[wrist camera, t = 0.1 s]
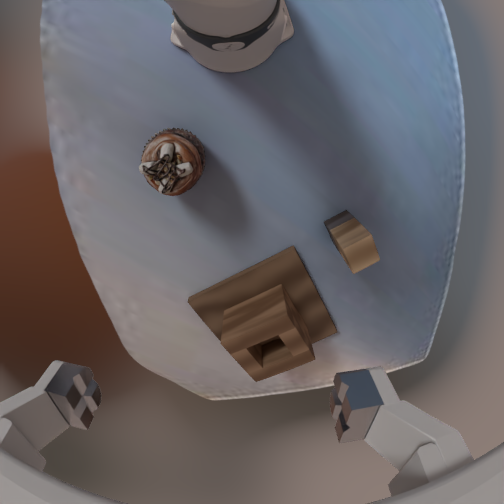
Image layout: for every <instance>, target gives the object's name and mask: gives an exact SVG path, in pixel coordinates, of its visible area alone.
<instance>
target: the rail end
mask: <svg viewBox="0 0 504 504" xmlns="http://www.w3.org/2000/svg"><path fill="white" fill-rule="evenodd" d="M324 223H325V226H326V228H327V230H328V232H329V234H330V237H331V239H332V241H333V243H334V245H335V246H336V248H337V249H338V251H339V252H340V254H341V255H342V257H343V258H344V260H345V262H346V263H347V265H348V266H349V268H350V270H351V271H352V273H353V274H355V273H356V272H358V271H360V270H362V269H364V268H366V267H368V266H370V265H372V264H374V263H375V262H377V261H379V260H380V258H379V255H378V252H377V249H376V246H375V243H374V240H373V237H372V235H371V234H370V233H369V232H368V230H367V229H366V228H365V227H363V226H362V225H361V224H360V223H359V222H358V221H357V220H356V219H355V218H354V217H353V216H352V215H351V214H350V213H349V212H348V211H347V210H346V211H344V212H342V213H340V214H338V215H336V216H334V217H332V218H330V219H328V220H326V221H324Z"/></svg>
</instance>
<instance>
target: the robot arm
mask: <svg viewBox="0 0 504 504" xmlns="http://www.w3.org/2000/svg"><path fill="white" fill-rule="evenodd" d="M164 1H165V2H166V3H167V4H168V5H169V6H170V7H171V8H172V15H174V17H175V20H174V23H172V33H171V38H170V39H171V42H172V43H173V44H174V45H176V46H178V47H180V48H182V49H185V50H187V51H188V52H189V53H190V54H191V56H192V57H193V58H194V59H195V60H196V61H197V62H199V63H200V64H201V65H203V66H205V67H207V68H209V69H212V70H215V71H219V72H240V71H245V70H248V69H251V68H253V67H256V66H258V65H259V64H261V63H262V62H264V61H265V60H266V59H267V58H268V57H269V56H270V55H271V54H272V53H273V51H274V50H275V49H276V47H277V46H278V45H279V44H281V43H282V42H284V41H286V40H288V39H290V38H291V37H292V36H293V34H294V28H293V25H292V22H291V19H290V16H289V13H288V10H287V7H286V4H285V1H284V0H164ZM286 25H287V26H286ZM92 378H93V373H92V371H91V369H90V368H88V367H84V366H79V365H75V364H71V363H66V362H61V361H57V360H56V361H54V362H52V363H51V365H50V366H49V367H48V369H47V370H46V371H45V373H44V374H43V376H42V377H41V378H40V380H39V381H38V382H37V384H36V385H35V387H30V388H28V389H26V390H24V391H22V392H20V393H18V394H16V395H14V396H12V397H10V398H8V399H6V400H4V401H2V402H0V504H128V503H124V502H120V501H117V500H113V499H110V498H107V497H104V496H101V495H98V494H95V493H92V492H89V491H86V490H84V489H81V488H78V487H76V486H73V485H71V484H68V483H66V482H64V481H62V480H59V479H57V478H55V477H53V476H51V475H49V474H46V473H44V472H42V471H43V468H44V466H45V464H46V461H45V459H44V458H43V456H42V455H41V454H39V452H38V451H39V450H41V449H42V448H43V447H44V446H46V445H47V444H48V443H50V442H51V441H52V440H53V439H54V438H56V437H57V436H58V435H60V434H61V433H62V432H63V431H65V430H66V429H67V428H68V427H69V425H70V426H74V427H78V428H81V429H85V430H88V429H89V426H90V424H91V422H92V420H93V418H94V416H93V411H94V410H96V409H98V407H99V405H100V403H101V390H100V387H99V385H98V384H97V383H96V382H95V381H94V380H93V379H92ZM333 382H334V385H335V388H334V389H333V390H332V391H331V395H330V409H331V414H332V417H333V418H334V419H336V420H337V423H336V426H335V430H336V433H337V437H338V441H339V443H345V442H351V441H356V440H362V439H364V440H365V441H366V442H367V443H368V444H369V445H370V446H371V447H373V448H374V449H375V450H376V451H377V452H378V453H379V454H380V455H381V456H383V457H384V458H385V459H386V460H387V461H389V462H390V463H391V464H392V465H393V466H394V467H395V468H397V469H398V470H399V473H398V474H397V475H396V476H395V477H394V478H393V479H392V481H391V482H390V483H389V484H388V486H389V490H390V493H391V497H388V498H385V499H382V500H378V501H375V502H371V503H367V504H504V442H503V443H501V444H500V445H498V446H497V447H495V448H494V449H492V450H491V451H489V452H487V453H486V454H484V455H482V456H481V457H479V458H477V459H476V460H474V459H473V457H472V455H471V453H470V452H469V450H468V448H467V446H466V444H465V442H464V440H463V438H462V437H461V435H460V433H459V431H458V430H456V429H454V428H453V427H451V426H449V425H447V424H445V423H443V422H442V421H440V420H438V419H436V418H435V417H433V416H431V415H429V414H427V413H426V412H424V411H422V410H420V409H419V408H417V407H415V406H414V405H412V404H410V403H408V402H407V401H405V400H403V401H400V400H399V397H398V395H397V394H396V392H395V390H394V388H393V386H392V384H391V382H390V380H389V378H388V376H387V374H386V372H385V371H384V369H383V367H381V366H378V367H373V368H367V369H360V370H354V371H347V372H340V373H336V375H335V377H334V381H333Z"/></svg>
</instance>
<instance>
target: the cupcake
mask: <svg viewBox="0 0 504 504" xmlns="http://www.w3.org/2000/svg"><path fill="white" fill-rule="evenodd" d="M155 136H156V137H154V136H151V138H152V140H150V139H149V140H148V141H149V143H146V146H144V148H145V149H144V151H142V152H143V154H142V160H141V161H142V164H141V165H140V166H139V170H140V172H141V173H142V174H144V176H145V178H146V180H147V182H148V183H149V184H150V185H151V186H152V187H154V188H155V189H156V190H157V191H159V192H160V193H162V194H165V195H170V196H175V195H180V194H182V193H184V192H186V191H187V190H189V189H191V188H192V187H193V186H194V185H195V184H196V183H197V181H198V180H199V178H200V177H201V175H202V172H203V170H204V167H205V158H204V157H205V155H204V152H205V151H204V150H203V148H204V147H203V146H202V145H201V142H200V141H199V139H198V138H196V135H193V134H192V133H191V132H188V131H187V130H185V131H184V129H183V128H182V129H181V130H180V129H179V128H177V129H175V128H173V129H170V128H167V130H166V129H163V132H162V131H159V134H158V133H155Z"/></svg>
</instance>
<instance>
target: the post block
mask: <svg viewBox="0 0 504 504" xmlns="http://www.w3.org/2000/svg"><path fill="white" fill-rule="evenodd" d="M188 303H189V304H190V306H191V307H192V308H193V309H194V310H195V312H196V313H197V314H198V315H199V317H200V318H201V319H202V320H203V321H204V323H205V324H206V325H207V326H208V327H209V328H210V330H211V331H212V332H213V333H214V334H215V335H216V337H217V338H218V339H219V340H220V341H221V344H222V345H223V347H224V348H225V349H226V350H227V351H228V352H229V353H230V354H231V356H232V357H233V358H234V359H235V360H236V361H237V362H238V363H239V364H240V365H241V367H242V368H243V369H244V370H245V371H246V372H247V373H248V374H249V375H250V376H251V377H252V378H253V379H254V380H255V381H256V382H257V381H260V380H263V379H266V378H269V377H271V376H274V375H277V374H280V373H282V372H285V371H288V370H290V369H293V368H295V367H298V366H300V365H303V364H305V363H308V362H310V361H312V360H315V356H314V352H313V348H312V343H315V342H317V341H319V340H321V339H324V338H326V337H328V336H330V335H332V334H335V333H337V330H336V327H335V325H334V323H333V321H332V319H331V317H330V315H329V313H328V311H327V309H326V307H325V305H324V303H323V301H322V299H321V297H320V295H319V293H318V291H317V289H316V287H315V286H314V284H313V282H312V280H311V278H310V276H309V274H308V272H307V270H306V268H305V266H304V264H303V263H302V261H301V259H300V257H299V255H298V253H297V251H296V249H295V248H294V246H291V247H289V248H287V249H285V250H283V251H281V252H279V253H277V254H275V255H273V256H271V257H269V258H267V259H265V260H263V261H261V262H259V263H257V264H255V265H253V266H251V267H249V268H247V269H245V270H243V271H241V272H239V273H237V274H235V275H233V276H231V277H229V278H227V279H225V280H223V281H221V282H219V283H217V284H215V285H213V286H211V287H209V288H207V289H205V290H203V291H201V292H199V293H197V294H195V295H193V296H191V297H189V299H188Z"/></svg>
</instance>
